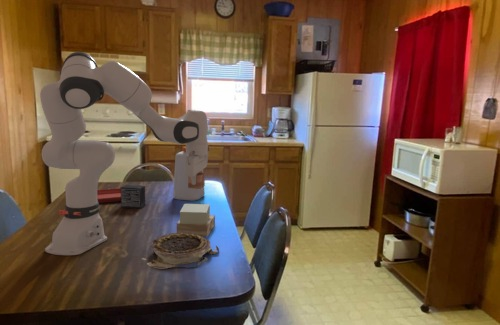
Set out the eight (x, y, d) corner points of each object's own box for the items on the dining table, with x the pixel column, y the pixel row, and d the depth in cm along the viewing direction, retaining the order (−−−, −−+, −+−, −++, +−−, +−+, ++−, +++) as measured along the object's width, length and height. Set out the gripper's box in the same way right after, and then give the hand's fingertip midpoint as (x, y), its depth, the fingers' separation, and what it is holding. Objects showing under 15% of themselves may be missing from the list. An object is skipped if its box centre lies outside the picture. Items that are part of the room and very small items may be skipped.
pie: (132, 270, 120) (131, 256, 119) (151, 238, 147) (150, 226, 146) (217, 270, 121) (217, 256, 120) (220, 239, 148) (220, 227, 147)
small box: (146, 204, 186) (145, 185, 184) (141, 208, 180) (140, 188, 178) (126, 203, 187) (125, 184, 185) (120, 207, 181) (119, 187, 179)
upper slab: (206, 224, 149) (206, 212, 148) (179, 223, 149) (179, 211, 148) (209, 215, 160) (209, 204, 159) (184, 214, 160) (184, 203, 159)
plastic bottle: (182, 192, 211) (182, 144, 206) (206, 194, 207) (207, 146, 202) (170, 199, 197) (169, 148, 191) (196, 202, 193) (196, 150, 187)
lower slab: (207, 237, 148) (207, 225, 147) (176, 234, 150) (176, 223, 149) (214, 226, 161) (214, 215, 160) (186, 223, 163) (186, 213, 162)
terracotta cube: (200, 188, 149) (201, 175, 148) (188, 187, 150) (188, 174, 149) (204, 185, 154) (204, 172, 153) (192, 184, 155) (192, 172, 154)
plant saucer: (92, 195, 201) (92, 189, 200) (126, 192, 208) (126, 187, 207) (92, 205, 184) (92, 199, 184) (129, 202, 191) (129, 196, 191)
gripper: (196, 154, 138) (196, 189, 141) (210, 146, 158) (210, 177, 161) (180, 153, 139) (181, 188, 142) (196, 145, 159) (196, 176, 162)
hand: (196, 182), depth 152 cm, fingers closed on terracotta cube, 5 cm apart
